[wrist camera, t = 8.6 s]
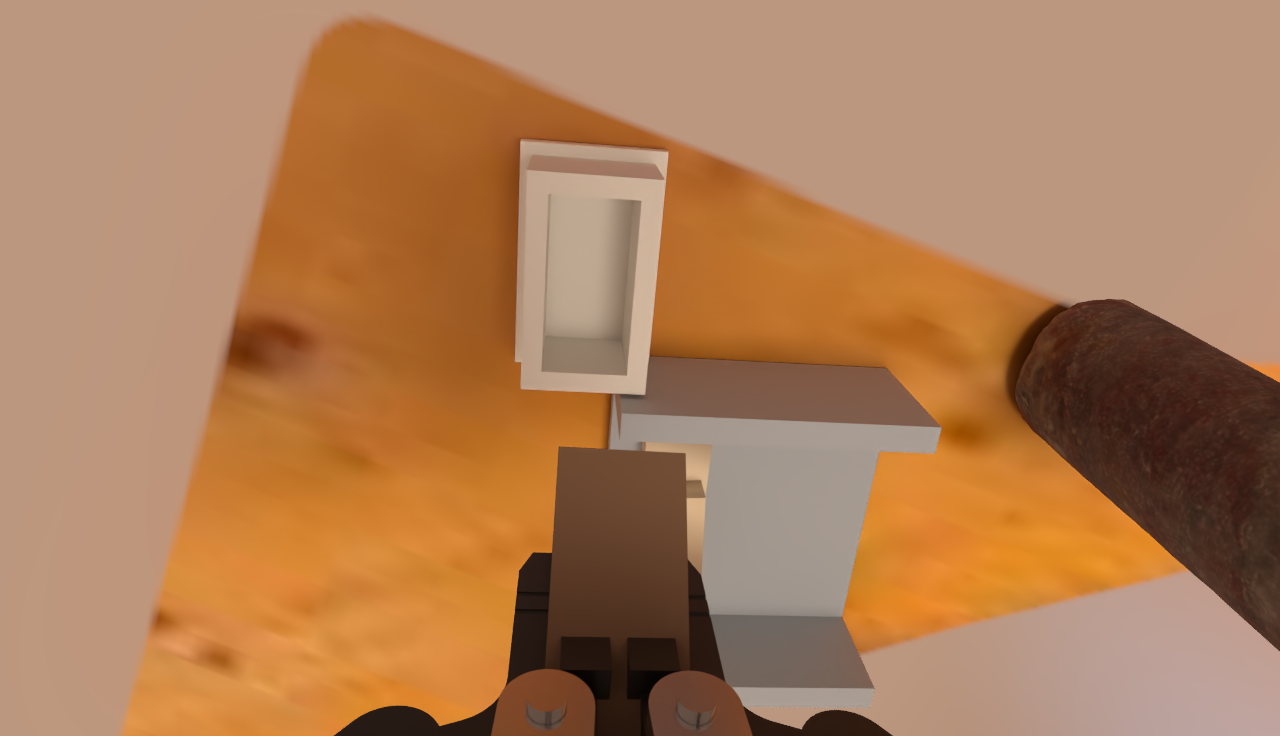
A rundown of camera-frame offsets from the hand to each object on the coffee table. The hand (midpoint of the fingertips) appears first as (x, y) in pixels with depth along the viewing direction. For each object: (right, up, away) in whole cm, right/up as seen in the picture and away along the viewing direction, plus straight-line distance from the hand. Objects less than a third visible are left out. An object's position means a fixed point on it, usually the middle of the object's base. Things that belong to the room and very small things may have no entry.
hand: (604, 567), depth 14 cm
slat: (-1, -6, +7) cm, 9 cm away
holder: (-2, +8, +20) cm, 22 cm away
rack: (+5, -3, +26) cm, 26 cm away
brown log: (+22, +4, +24) cm, 33 cm away
